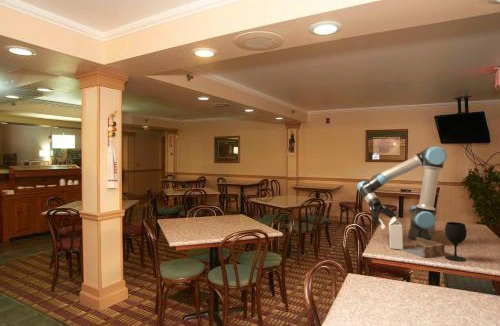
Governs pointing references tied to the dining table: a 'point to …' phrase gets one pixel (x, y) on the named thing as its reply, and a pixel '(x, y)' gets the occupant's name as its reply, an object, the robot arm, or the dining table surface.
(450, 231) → the wine glass
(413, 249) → the mat
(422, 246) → the corner walls
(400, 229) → the milk carton
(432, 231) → the can
